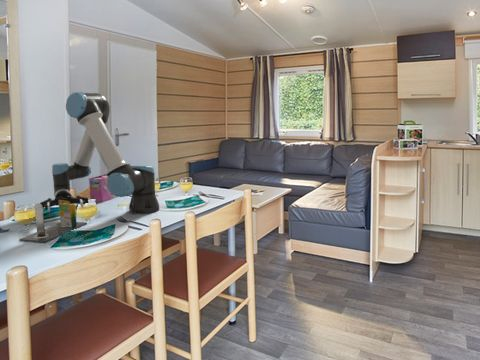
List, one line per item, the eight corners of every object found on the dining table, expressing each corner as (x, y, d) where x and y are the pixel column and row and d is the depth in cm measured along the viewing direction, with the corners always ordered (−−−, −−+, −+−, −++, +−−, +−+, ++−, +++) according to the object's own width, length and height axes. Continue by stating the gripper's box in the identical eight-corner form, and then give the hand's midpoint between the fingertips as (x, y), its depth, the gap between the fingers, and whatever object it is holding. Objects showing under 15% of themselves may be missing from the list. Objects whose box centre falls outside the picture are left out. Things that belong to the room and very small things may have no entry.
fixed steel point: (46, 235, 157) (43, 202, 155) (41, 237, 155) (38, 204, 152) (41, 234, 158) (37, 202, 156) (35, 236, 155) (32, 204, 153)
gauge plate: (87, 224, 175) (87, 222, 175) (45, 243, 150) (45, 240, 150) (64, 222, 178) (64, 220, 178) (19, 240, 153) (19, 238, 153)
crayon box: (77, 225, 170) (75, 199, 168) (71, 227, 167) (69, 201, 165) (66, 223, 173) (63, 198, 171) (60, 225, 171) (57, 199, 169)
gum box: (114, 193, 243) (112, 172, 240) (125, 194, 240) (124, 172, 238) (90, 202, 220) (88, 178, 217) (102, 202, 218) (100, 178, 215)
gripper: (91, 202, 197) (96, 211, 179) (35, 208, 186) (34, 218, 168) (89, 187, 196) (94, 195, 177) (34, 192, 185) (33, 201, 166)
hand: (65, 206), depth 173 cm, fingers open, 13 cm apart
